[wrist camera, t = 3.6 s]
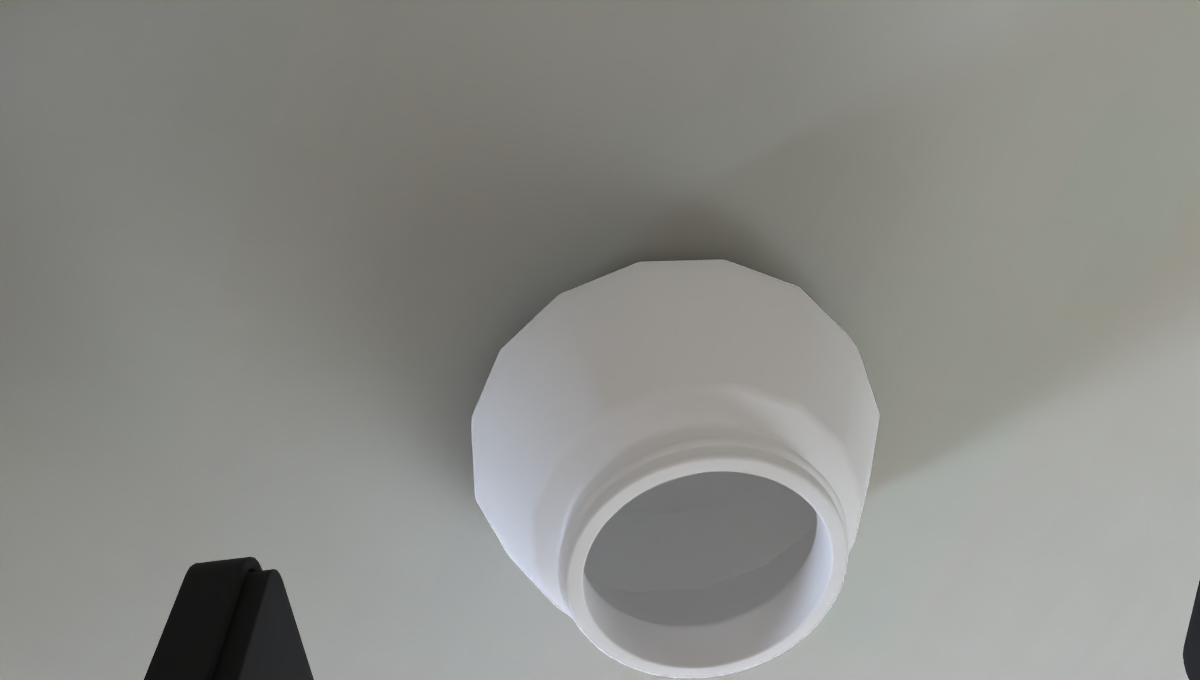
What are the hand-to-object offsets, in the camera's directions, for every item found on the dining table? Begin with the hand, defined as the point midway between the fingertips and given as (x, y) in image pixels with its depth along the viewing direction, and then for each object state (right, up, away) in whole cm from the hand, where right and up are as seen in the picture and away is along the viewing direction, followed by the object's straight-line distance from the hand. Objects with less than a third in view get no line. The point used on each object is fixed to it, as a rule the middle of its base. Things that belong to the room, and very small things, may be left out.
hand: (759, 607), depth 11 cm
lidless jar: (-1, +2, +3) cm, 4 cm away
